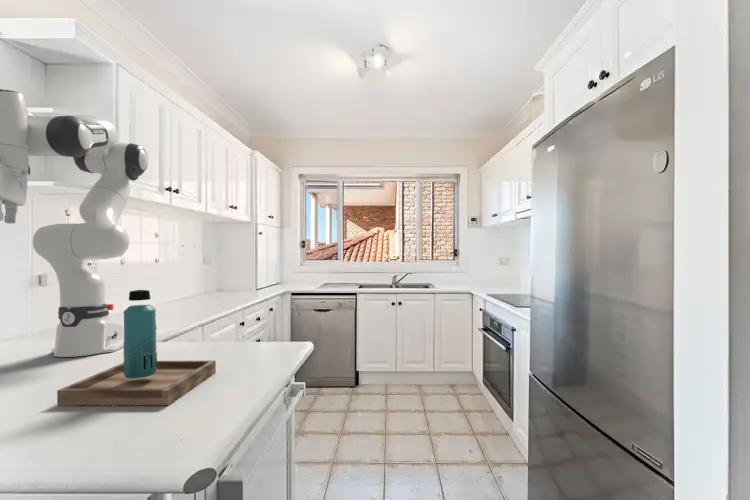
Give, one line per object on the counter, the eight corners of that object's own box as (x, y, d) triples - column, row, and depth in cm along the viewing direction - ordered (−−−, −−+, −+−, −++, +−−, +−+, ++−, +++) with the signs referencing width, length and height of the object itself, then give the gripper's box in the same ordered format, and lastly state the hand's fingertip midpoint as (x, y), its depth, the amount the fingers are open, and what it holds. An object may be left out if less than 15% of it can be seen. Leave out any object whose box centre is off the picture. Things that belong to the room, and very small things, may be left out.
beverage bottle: (143, 386, 88) (142, 291, 88) (115, 385, 89) (115, 291, 89) (163, 377, 94) (163, 288, 94) (137, 376, 95) (137, 288, 95)
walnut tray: (128, 373, 103) (128, 360, 103) (215, 372, 102) (215, 360, 102) (57, 405, 81) (57, 390, 81) (168, 405, 80) (167, 390, 80)
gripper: (7, 152, 86) (7, 218, 86) (32, 170, 104) (32, 225, 104) (-34, 149, 83) (-34, 218, 83) (-1, 168, 101) (0, 224, 101)
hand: (3, 222), depth 94 cm, fingers open, 8 cm apart
